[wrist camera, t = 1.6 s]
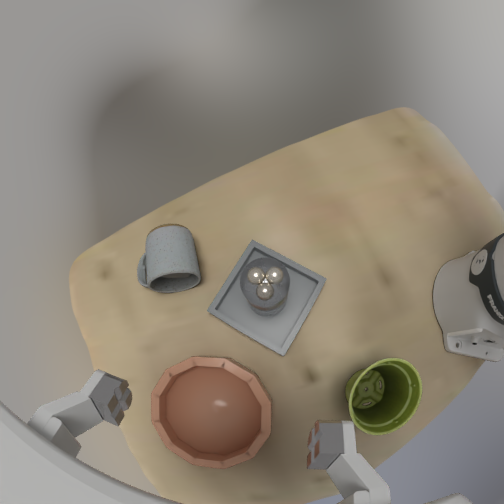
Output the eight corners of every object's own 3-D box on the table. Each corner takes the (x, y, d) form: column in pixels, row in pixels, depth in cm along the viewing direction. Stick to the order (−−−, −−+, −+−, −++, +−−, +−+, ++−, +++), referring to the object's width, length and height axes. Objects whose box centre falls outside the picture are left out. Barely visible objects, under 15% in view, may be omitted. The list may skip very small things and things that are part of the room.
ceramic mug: (197, 236, 43) (181, 213, 36) (207, 284, 40) (191, 268, 33) (139, 254, 43) (115, 236, 36) (145, 301, 40) (119, 290, 33)
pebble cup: (294, 290, 38) (299, 268, 28) (274, 323, 36) (274, 313, 27) (260, 272, 39) (255, 245, 30) (241, 304, 38) (228, 287, 28)
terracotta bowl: (293, 393, 33) (295, 398, 30) (233, 476, 29) (230, 485, 25) (195, 336, 37) (188, 334, 34) (144, 417, 33) (133, 422, 30)
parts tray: (324, 282, 38) (326, 278, 36) (283, 356, 35) (283, 356, 33) (253, 244, 41) (252, 239, 39) (210, 312, 38) (206, 310, 36)
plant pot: (397, 408, 30) (425, 418, 22) (337, 427, 30) (353, 445, 22) (389, 350, 34) (417, 347, 26) (328, 366, 34) (343, 370, 26)
